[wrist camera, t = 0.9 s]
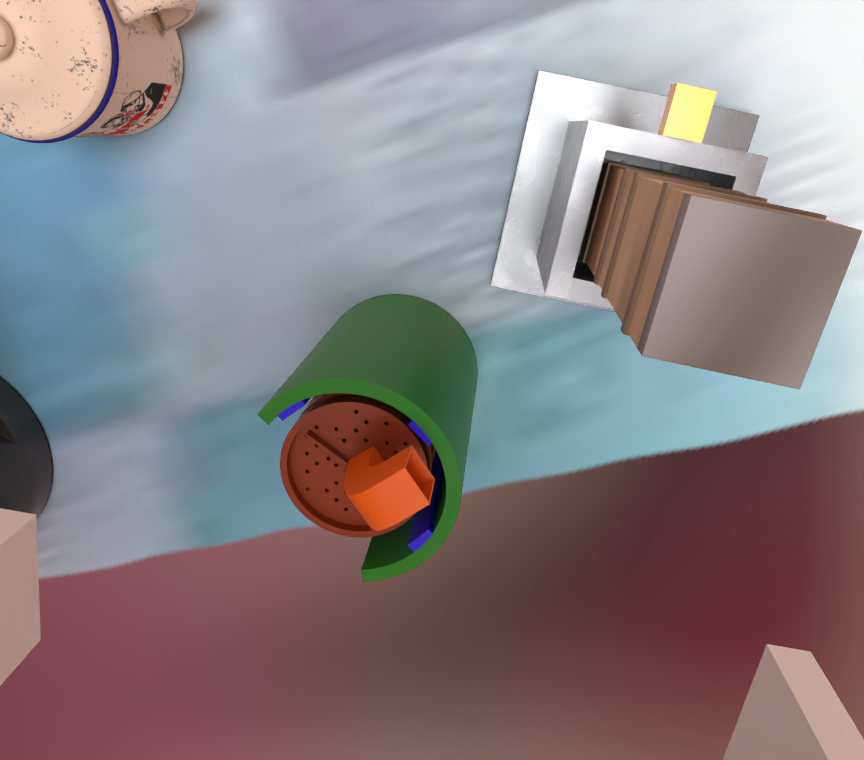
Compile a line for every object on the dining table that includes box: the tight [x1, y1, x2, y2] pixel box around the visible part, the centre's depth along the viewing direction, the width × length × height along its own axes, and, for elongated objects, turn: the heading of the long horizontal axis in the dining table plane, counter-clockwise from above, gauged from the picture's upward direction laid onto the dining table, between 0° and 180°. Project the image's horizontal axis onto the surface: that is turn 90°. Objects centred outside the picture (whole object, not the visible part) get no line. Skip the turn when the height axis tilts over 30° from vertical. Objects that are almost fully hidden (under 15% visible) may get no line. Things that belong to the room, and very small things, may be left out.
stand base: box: [491, 71, 768, 312], centre depth 37 cm, size 12×12×12 cm
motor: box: [258, 295, 477, 582], centre depth 38 cm, size 10×9×20 cm
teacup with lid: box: [0, 0, 197, 143], centre depth 37 cm, size 12×9×12 cm
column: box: [579, 159, 862, 389], centre depth 30 cm, size 5×5×23 cm
